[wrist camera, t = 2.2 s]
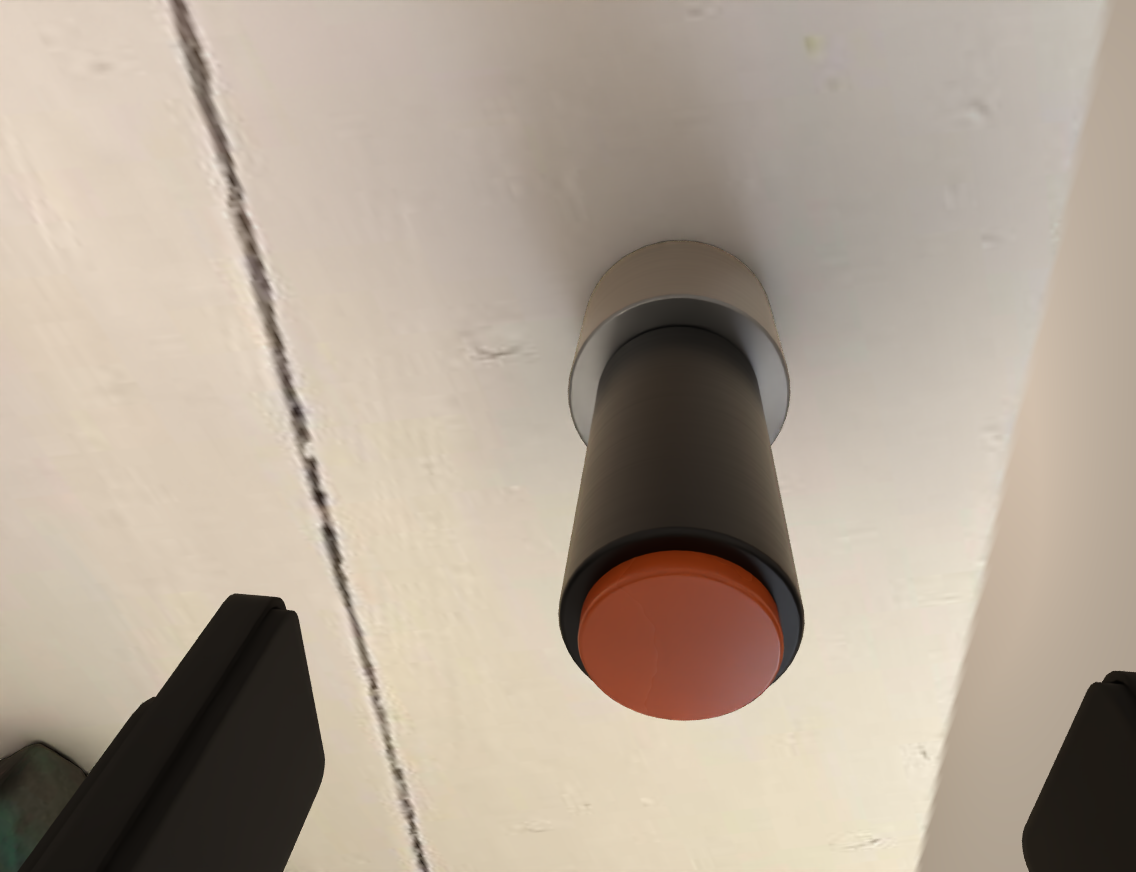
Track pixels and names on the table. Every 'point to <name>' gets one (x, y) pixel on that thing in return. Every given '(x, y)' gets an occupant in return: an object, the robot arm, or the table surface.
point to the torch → (680, 488)
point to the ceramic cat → (32, 799)
